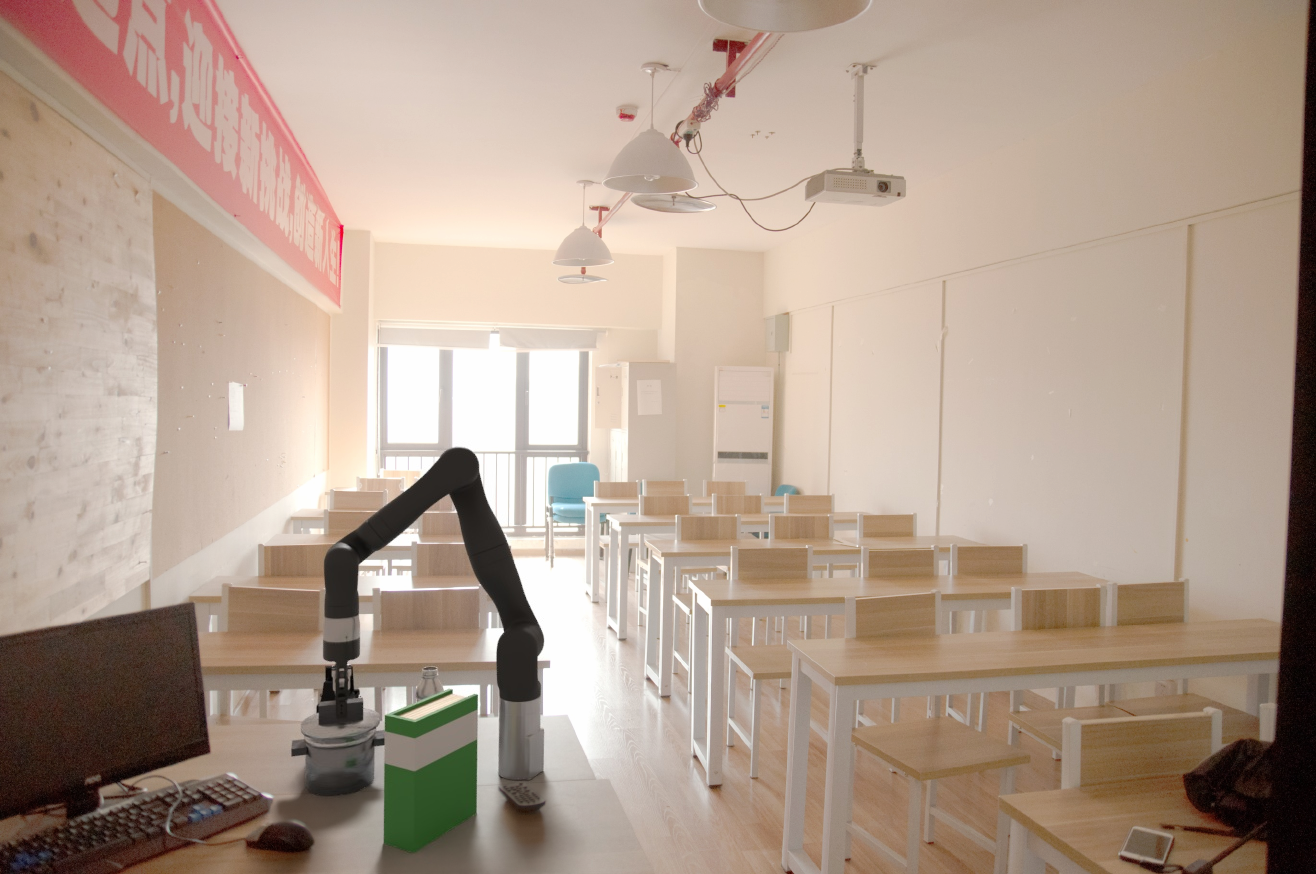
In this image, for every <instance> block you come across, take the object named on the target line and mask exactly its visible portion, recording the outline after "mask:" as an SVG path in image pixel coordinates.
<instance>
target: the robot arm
mask: <svg viewBox="0 0 1316 874" xmlns="http://www.w3.org/2000/svg"><path fill="white" fill-rule="evenodd" d="M448 495H449V497H450V499H451V502H452V504H453V506H454V508H455V510H456V511H455V512H456V514H457V518H458V521H459V527H460V532H461V536H462V540H463V544H464V547H465V551H466V554H467V557H468V561H469V564H470V565H471V568H472V570H473V574H474V576H475V577H476V580H477V581H478V582H479V584H480V585H481V587H482V589H483V590H484V592H486V594H487V596H489V598H490V600H491V601H492V602H493V604H494V606H495V608H496V610H497V613H498V616H499V618H500V621H501V625H502V628H503V629H502V630H503V633H502V634H501V635H500V637H499V638H498V641H497V644H496V652H495V653H496V656H495V659H496V661H495V662H496V666H495V667H496V685H497V687H498V692H499V694H498V695H499V699H498V700H499V701H498V766H497V767H498V772H497V773H498V775H499V776H500V777H501V778H503V779H505V780H511V781H512V780H514V781H517V780H518V781H520V780H521V781H522V780H527V781H530V780H532V779H533V778H535V777H536V776H537V775H538V774H540V773H542V772H543V771H544V770H545V769H544V768H545V767H544V764H545V729H544V728H543V727H541V720H542V719H541V715H542V713H541V711H542V709H541V708H542V707H541V706H542V684H541V682H540V680H539V676H538V673H539V672H538V671H539V668H538V666H539V665H538V663H539V662H538V659H539V658H538V657H539V656H540V654H541V653H542V652H543V650H544V646H545V636H544V633H543V630H542V627H541V625H540V624H539V621H538V620H537V617H536V616H535V613H534V610H532V608H531V605H530V604H529V601H528V598H527V596H526V593H525V590H524V587H523V583H522V580H521V577H520V575H519V571H518V569H517V567H516V563H515V559H514V557H513V554H512V551H511V547H510V545H509V542H508V540H507V538H506V535H505V532H504V530H503V528H502V527H501V524H500V523H499V521H498V519H497V517H496V515H495V513H494V512H493V510H492V509H493V508H491V506H490V503H489V501H488V499H487V495H486V492H485V489H484V484H483V482H482V477H481V472H480V462H479V459H478V457H477V455H476V453H475V452H473V451H472V450H471V449H469V448H467V447H465V446H453V447H449V448H447V449H446V450H444V451H443V452H442V454H440V456H439V457H438V459H437V460H436V461H435V462H434V464H433V465H432V466H431V467H430V468H429V469H428V470H427V471H426V472H425V473H424V474H423V475H422V476H421V477H420V478H419V479H418V480H417V481H415V482H414V483H413V484H412V485H411V486H410V487H408V488H407V489H405V490H404V491H403V492H402V493H400V494H399V495H397V496H396V497H395V498H394V499H392V500H391V501H389V502H388V503H387V504H385V505H384V506H383V507H381V508H380V509H379V510H377V511H376V512H375V513H374V514H372V515H371V516H370V517H369V518H367V520H365V521H364V522H363V523H362V524H360V525H359V526H358V527H357V528H356V529H354V530H353V531H351V532H349V533H348V534H347V535H345V536H344V537H342V538H341V539H339V540H338V541H336V543H334V544H332V545H331V546H330V547H329V549H328V550H327V552H326V553H325V557H324V560H323V577H324V588H325V589H324V590H325V593H324V605H323V606H324V607H323V608H324V610H323V612H324V614H323V616H324V618H323V626H322V658H323V660H325V661H326V662H330V663H333V662H334V663H335V664H334V665H331V666H332V677H333V690H334V691H335V702H336V718H337V719H343V718H346V717H347V701H348V690H349V689H350V676H351V666H352V663H348V662H349V661H353V660H356V659H358V658H359V657H360V655H361V621H360V597H359V596H360V595H359V591H358V587H359V586H358V585H359V569H360V568H359V567H360V565H361V563H363V562H364V561H365V560H366V559H368V558H369V557H370V556H371V555H372V554H374V553H375V552H378V551H381V550H382V549H384V548H385V547H386V546H388V545H389V544H390V543H392V541H394V540H395V539H397V538H398V537H399V536H400V535H402V534H403V533H404V532H405V531H406V530H407V529H408V528H409V527H411V526H412V525H413V524H414V523H415V522H416V521H417V520H418V519H419V518H420V517H421V516H422V515H423V514H425V512H427V510H429V509H430V508H431V507H432V506H434V505H435V504H436V503H438V502H439V501H441V500H442V499H444V498H445V497H446V496H448Z"/></svg>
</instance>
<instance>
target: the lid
mask: <svg viewBox="0 0 1316 874" xmlns="http://www.w3.org/2000/svg"><path fill="white" fill-rule="evenodd" d="M318 703H319V713H314V714H312V715H310V716H308V717H306V718H304V719H303V720H302V721H301V722H300V732H301V734H302V735H303V737H304V736H306V737H309V738H313V739H320V740H336V739H345V738H350V737H355V736H359V735H362V734H365V733H368V732H370V731H372V730H374V729H375V728H376V729H377V727H379V726H380V722H381V715H380V713H379V712H377V711H375V710H373V709H369V708H364V698H363V697H358V698H354V699H348V701H347V717H346V718H343V719H337V718H336V702H335V701H325V702H320V701H319V702H318Z"/></svg>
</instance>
